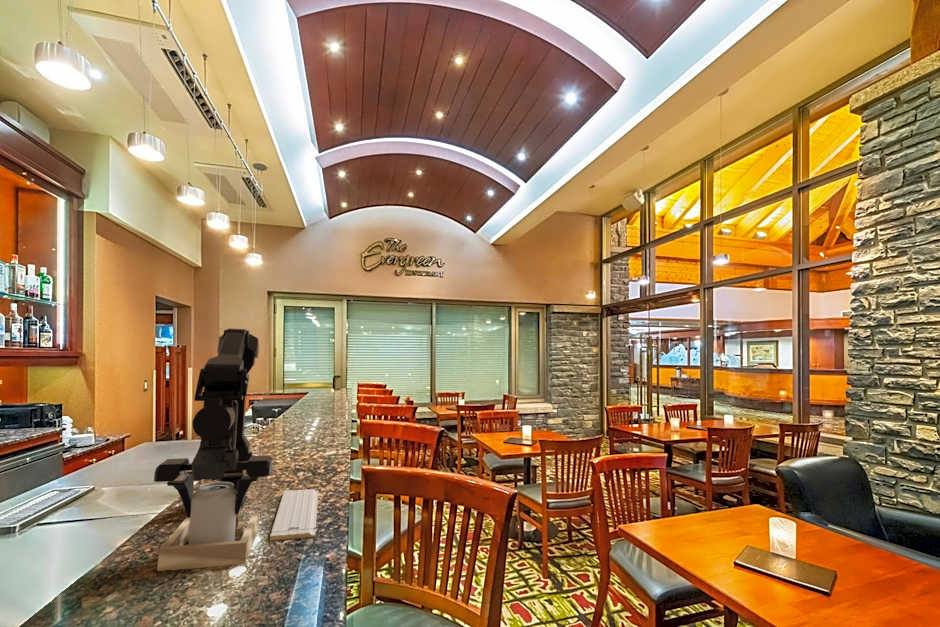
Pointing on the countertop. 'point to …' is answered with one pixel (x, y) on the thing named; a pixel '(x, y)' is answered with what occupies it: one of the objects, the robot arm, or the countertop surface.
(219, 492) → the can
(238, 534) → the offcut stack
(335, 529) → the countertop surface
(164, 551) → the rack
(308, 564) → the countertop surface
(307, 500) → the baseboard
